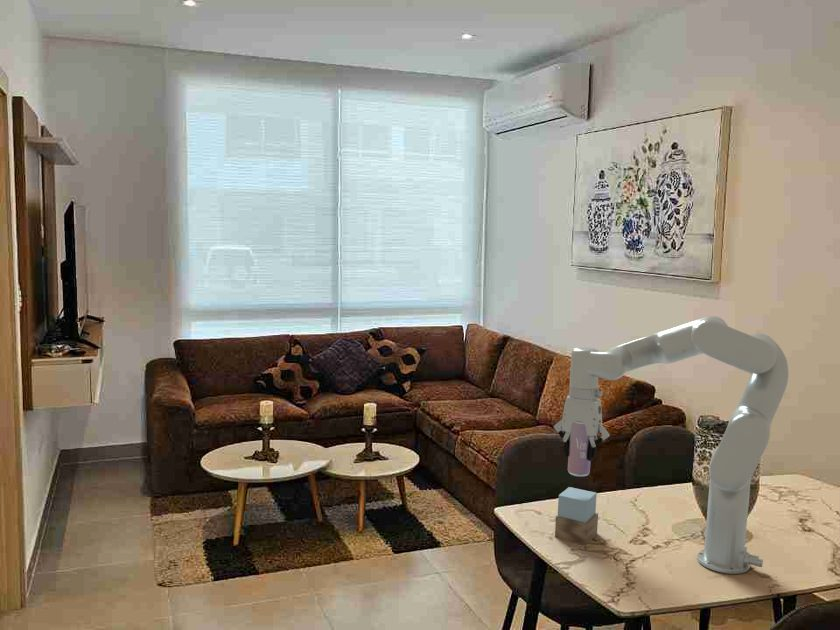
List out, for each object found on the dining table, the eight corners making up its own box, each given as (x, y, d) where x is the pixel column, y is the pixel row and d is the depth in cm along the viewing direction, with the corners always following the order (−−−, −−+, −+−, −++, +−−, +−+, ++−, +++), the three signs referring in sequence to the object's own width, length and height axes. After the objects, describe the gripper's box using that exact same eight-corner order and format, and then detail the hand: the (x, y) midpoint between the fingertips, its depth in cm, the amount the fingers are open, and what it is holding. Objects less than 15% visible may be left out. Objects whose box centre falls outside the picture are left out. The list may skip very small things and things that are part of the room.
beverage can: (588, 470, 213) (591, 417, 211) (590, 477, 207) (594, 423, 205) (566, 469, 214) (569, 416, 212) (568, 476, 208) (571, 422, 206)
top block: (595, 513, 213) (596, 492, 212) (585, 522, 206) (586, 501, 206) (568, 507, 217) (569, 486, 216) (557, 516, 210) (558, 495, 210)
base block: (597, 534, 214) (598, 513, 213) (586, 545, 206) (587, 524, 206) (566, 526, 219) (567, 506, 218) (554, 537, 211) (555, 516, 210)
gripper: (618, 395, 207) (614, 460, 209) (557, 386, 215) (554, 448, 218) (610, 400, 200) (606, 467, 202) (548, 391, 209) (544, 455, 211)
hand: (579, 457), depth 210 cm, fingers closed on beverage can, 6 cm apart
